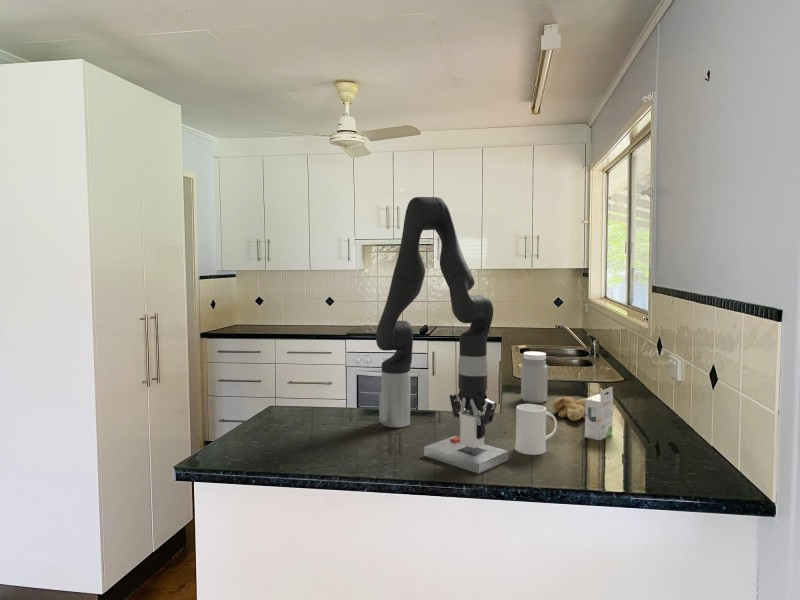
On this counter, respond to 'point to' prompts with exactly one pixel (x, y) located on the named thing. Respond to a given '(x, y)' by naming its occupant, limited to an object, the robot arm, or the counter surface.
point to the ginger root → (570, 407)
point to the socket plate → (466, 455)
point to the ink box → (599, 415)
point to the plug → (469, 430)
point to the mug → (532, 429)
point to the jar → (534, 377)
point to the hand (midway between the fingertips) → (472, 435)
